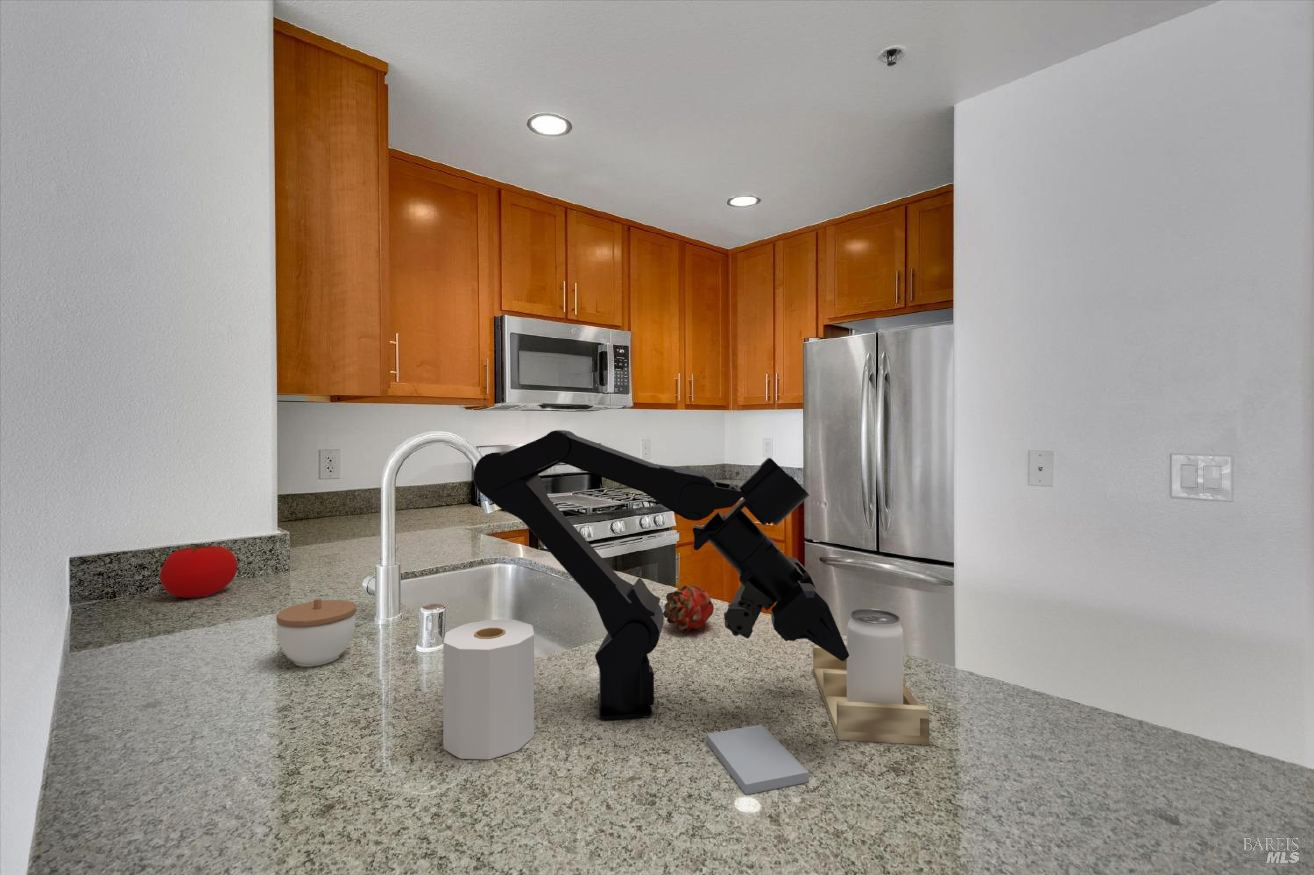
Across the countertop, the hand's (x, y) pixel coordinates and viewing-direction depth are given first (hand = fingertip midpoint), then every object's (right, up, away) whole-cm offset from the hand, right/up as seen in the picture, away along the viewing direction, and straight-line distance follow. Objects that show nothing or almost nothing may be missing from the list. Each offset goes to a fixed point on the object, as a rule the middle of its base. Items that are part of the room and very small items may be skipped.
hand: (838, 644), depth 72 cm
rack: (+5, -9, +4) cm, 11 cm away
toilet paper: (-42, -9, -4) cm, 43 cm away
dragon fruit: (-16, -9, +34) cm, 39 cm away
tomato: (-121, -9, +54) cm, 133 cm away
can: (+4, -8, -1) cm, 10 cm away
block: (-12, -9, -9) cm, 18 cm away
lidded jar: (-75, -9, +19) cm, 78 cm away
